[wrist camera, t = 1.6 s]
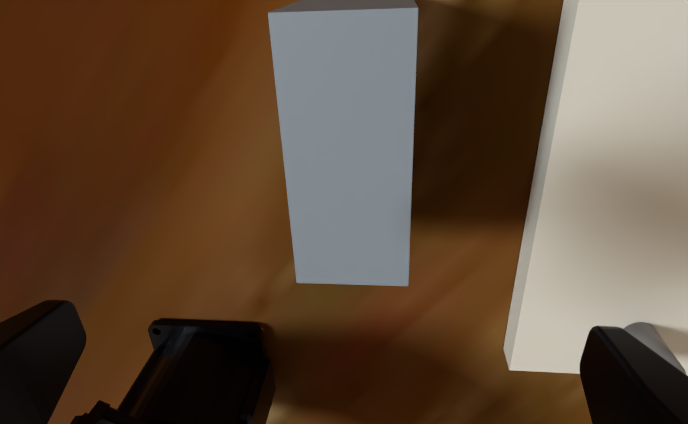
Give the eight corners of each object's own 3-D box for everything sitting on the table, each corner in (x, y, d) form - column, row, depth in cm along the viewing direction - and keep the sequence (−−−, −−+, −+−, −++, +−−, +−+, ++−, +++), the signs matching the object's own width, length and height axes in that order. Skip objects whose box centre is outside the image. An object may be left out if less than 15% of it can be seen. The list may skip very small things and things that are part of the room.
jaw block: (320, 206, 22) (296, 282, 16) (306, -2, 17) (267, 12, 12) (404, 207, 21) (408, 286, 16) (411, -6, 17) (418, 7, 12)
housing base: (503, 348, 25) (521, 412, 21) (568, -27, 16) (616, -24, 13) (722, 357, 24) (780, 426, 20) (917, -40, 15) (1075, -42, 12)
